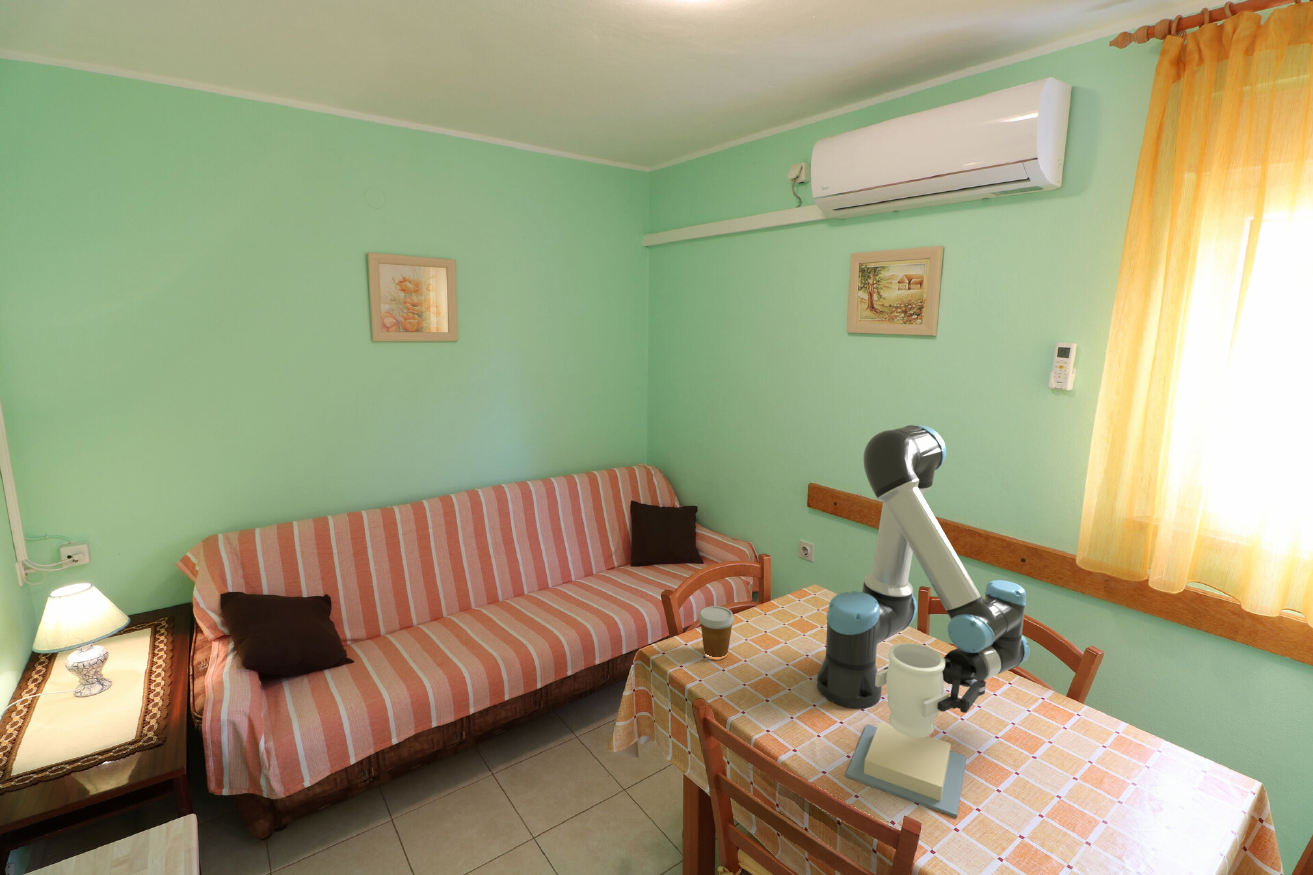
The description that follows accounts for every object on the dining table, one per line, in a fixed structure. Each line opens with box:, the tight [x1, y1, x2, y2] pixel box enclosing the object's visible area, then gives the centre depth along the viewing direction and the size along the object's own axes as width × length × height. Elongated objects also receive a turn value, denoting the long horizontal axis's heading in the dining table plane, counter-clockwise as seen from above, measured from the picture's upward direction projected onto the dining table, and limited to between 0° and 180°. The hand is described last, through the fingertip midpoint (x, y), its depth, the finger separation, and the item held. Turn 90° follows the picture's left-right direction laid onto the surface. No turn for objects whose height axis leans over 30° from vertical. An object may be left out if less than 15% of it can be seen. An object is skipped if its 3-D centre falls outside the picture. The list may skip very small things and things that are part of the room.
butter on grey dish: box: [845, 720, 967, 818], centre depth 124 cm, size 20×18×4 cm
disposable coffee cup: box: [698, 605, 735, 657], centre depth 166 cm, size 10×10×12 cm
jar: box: [885, 642, 945, 737], centre depth 122 cm, size 11×10×15 cm
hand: (899, 694), depth 119 cm, fingers closed on jar, 10 cm apart
